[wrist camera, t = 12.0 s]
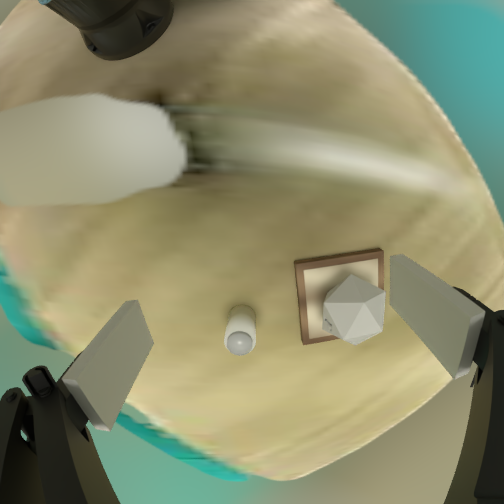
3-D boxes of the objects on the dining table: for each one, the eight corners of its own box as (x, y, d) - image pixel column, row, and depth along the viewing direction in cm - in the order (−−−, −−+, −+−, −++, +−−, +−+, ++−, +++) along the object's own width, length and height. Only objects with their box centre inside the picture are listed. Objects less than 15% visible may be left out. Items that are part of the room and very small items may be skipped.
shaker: (226, 306, 41) (220, 333, 33) (253, 303, 41) (253, 329, 33) (231, 329, 42) (226, 359, 34) (257, 326, 42) (257, 356, 34)
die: (334, 257, 38) (309, 307, 31) (396, 269, 34) (385, 326, 27) (331, 300, 43) (308, 349, 36) (385, 313, 39) (371, 366, 32)
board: (294, 261, 39) (295, 264, 38) (379, 248, 38) (383, 250, 37) (301, 340, 42) (303, 345, 41) (378, 325, 42) (382, 329, 40)
